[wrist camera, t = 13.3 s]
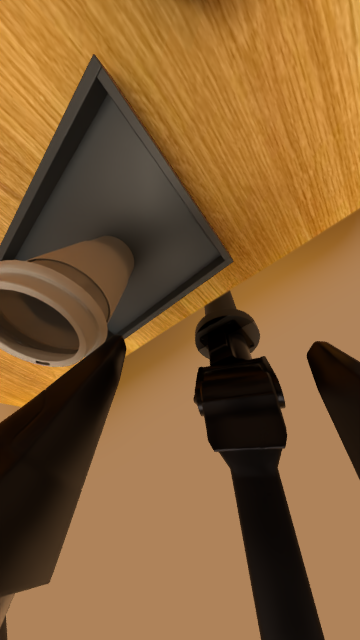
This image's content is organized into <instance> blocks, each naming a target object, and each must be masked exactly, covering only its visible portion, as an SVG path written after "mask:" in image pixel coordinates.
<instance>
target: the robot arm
mask: <svg viewBox="0 0 360 640" xmlns="http://www.w3.org/2000/svg"><path fill="white" fill-rule="evenodd" d="M233 322H234V323H233ZM232 323H233V324H232ZM202 339H204V340H202ZM200 342H201V343H202V344H203V345H204V346H205V347H206V348H207V349H208V352H209V358H210V366H208V367H199V369H198V373H197V379H196V387H195V395H194V402H195V403H196V404H197V405H198V409H199V412H200V414H201V416H204V418H205V423H206V429H207V436H208V441H209V443H210V445H211V446H212V448H213V450H214V451H215V452H219V453H220V454H221V456H222V457H223V459H224V460H225V462H226V463H227V465H228V466H229V467H230V469H231V474H232V480H233V486H234V491H235V497H236V502H237V507H238V513H239V519H240V524H241V530H242V536H243V541H244V546H245V552H246V557H247V563H248V568H249V574H250V580H251V586H252V591H253V597H254V602H255V608H256V614H257V619H258V625H259V630H260V635H261V640H325V639H324V635H323V632H322V628H321V624H320V621H319V618H318V614H317V610H316V606H315V603H314V599H313V596H312V592H311V588H310V584H309V581H308V577H307V574H306V570H305V566H304V563H303V559H302V555H301V552H300V548H299V545H298V541H297V537H296V533H295V530H294V526H293V523H292V519H291V515H290V512H289V508H288V504H287V501H286V497H285V494H284V490H283V486H282V483H281V479H280V475H279V471H278V464H279V460H280V456H281V451H282V449H283V448H285V446H286V440H287V432H286V426H285V423H284V419H283V416H282V412H281V408H285V401H284V396H283V393H282V389H281V386H280V384H279V381H278V379H277V377H276V375H275V373H274V371H273V369H272V368H271V366H270V364H269V362H268V361H267V359H266V357H265V356H263V357H261V358H256V359H252V357H251V354H250V351H249V349H250V348H252V347H254V346H255V345H254V342H253V341H252V340H251V338H250V337H249V336H248V335H247V334H246V332H245V331H244V330H243V329H242V327H241V326H240V325H239V324H238V322H237V321H236V320H230V321H229V322H227V323H225V324H223V325H221V326H219V327H217V328H216V329H214V330H212V331H210V332H208V333H207V334H205V335H203V336H202V337H200ZM251 344H252V345H251ZM125 354H126V345H125V341H124V338H123V336H122V335H113V336H112V337H110V338H109V339H108V340H107V341H105V342H104V343H103V344H102V345H100V346H99V347H98V348H97V349H95V350H94V351H93V352H92V353H90V354H89V355H88V356H86V357H85V358H84V359H83V360H81V361H80V362H79V363H78V364H76V365H75V366H74V367H73V368H71V369H70V370H69V371H68V372H66V373H65V374H64V375H62V376H61V377H60V378H59V379H57V380H56V381H55V382H54V383H52V384H51V385H50V386H49V387H47V388H46V390H43V391H42V392H41V393H40V394H38V395H37V396H36V397H35V398H33V399H32V400H31V401H29V402H28V403H27V404H25V405H24V406H23V407H22V408H20V409H19V410H17V411H16V412H15V413H13V414H12V415H11V416H9V417H8V418H6V419H5V420H4V421H2V422H1V423H0V640H7V628H6V613H7V611H8V608H9V606H10V603H11V601H12V599H13V597H14V594H15V593H17V592H21V591H24V590H28V589H31V588H34V587H38V586H41V585H44V584H48V583H49V582H50V579H51V577H52V575H53V572H54V569H55V566H56V563H57V560H58V557H59V554H60V551H61V549H62V545H63V543H64V540H65V537H66V534H67V531H68V528H69V526H70V523H71V520H72V517H73V514H74V511H75V508H76V505H77V502H78V499H79V497H80V493H81V491H82V490H81V489H82V487H83V485H84V482H85V479H86V476H87V473H88V470H89V467H90V464H91V461H92V459H93V456H94V453H95V450H96V447H97V444H98V441H99V438H100V435H101V433H102V429H103V427H104V424H105V421H106V418H107V415H108V412H109V409H110V407H111V403H112V400H113V398H114V395H115V392H116V389H117V386H118V383H119V380H120V376H121V372H122V367H123V362H124V358H125ZM307 359H308V363H309V366H310V368H311V371H312V374H313V377H314V380H315V383H316V386H317V388H318V391H319V393H320V395H321V397H322V400H323V402H324V404H325V406H326V408H327V410H328V413H329V415H330V417H331V419H332V421H333V423H334V425H335V428H336V430H337V432H338V434H339V436H340V438H341V440H342V443H343V445H344V447H345V449H346V451H347V453H348V456H349V457H350V460H351V462H352V464H353V466H354V468H355V471H356V473H357V475H358V477H359V479H360V362H359V361H358V360H356V359H354V358H352V357H350V356H349V355H347V354H346V353H344V352H342V351H341V350H339V349H337V348H336V347H334V346H332V345H331V344H329V343H327V342H323V341H321V342H320V341H317V342H314V343H313V345H312V346H311V348H310V350H309V351H308V353H307Z"/></svg>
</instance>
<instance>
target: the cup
mask: <svg viewBox="0 0 360 640" xmlns="http://www.w3.org/2000/svg"><path fill="white" fill-rule="evenodd" d="M133 268H134V257H133V254H132V252H131V250H130V249H129V247H128V246H127V245H126V244H125V243H124V242H123V241H121V240H120V239H118V238H116V237H113V236H102V237H99V238H96V239H94V240H91V241H83V242H80V243H77V244H74V245H71V246H68V247H65V248H62V249H59V250H56V251H53V252H50V253H47V254H44V255H41V256H38V257H35V258H32V259H29V260H26V261H20V260H5V261H0V348H1V349H2V350H4V351H6V352H7V353H9V354H11V355H13V356H15V357H18V358H20V359H22V360H25V361H28V362H31V363H34V364H39V365H43V366H51V367H63V366H70V365H72V364H75V363H77V362H79V361H80V360H82V359H83V357H86V356H88V355H89V354H90V353H92V352H93V351H94V350H95V349H97V348H98V347H99V346H100V345H102V344H103V343H104V342H105V340H106V338H107V332H108V328H107V324H108V322H109V321H110V318H111V316H112V314H113V312H114V310H115V308H116V306H117V304H118V302H119V300H120V298H121V296H122V294H123V292H124V290H125V288H126V286H127V283H128V279H129V277H130V275H131V273H132V271H133Z"/></svg>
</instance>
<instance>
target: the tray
mask: <svg viewBox="0 0 360 640" xmlns="http://www.w3.org/2000/svg"><path fill="white" fill-rule="evenodd" d="M102 236H113V237H116V238H118V239H120V240H121V241H123V242H124V243H125V244H126V245H127V246H128V247H129V249H130V250H131V252H132V254H133V257H134V268H133V271H132V273H131V275H130V277H129V279H128V283H127V286H126V288H125V290H124V292H123V294H122V296H121V298H120V300H119V302H118V304H117V306H116V308H115V310H114V312H113V314H112V316H111V318H110V321H109V322H108V324H107V328H108V332H107V338H106V340H105V341H107V340H108V339H109V338H110V337H112V336H113V335H122V336H123V338H124V339H125V338H127V337H128V336H130V335H131V334H132V333H134V332H135V331H137V330H138V329H139V328H141V327H142V326H144V325H145V324H146V323H148V322H149V321H151V320H152V319H153V318H155V317H156V316H158V315H159V314H161V313H162V312H163V311H165V310H166V309H168V308H169V307H170V306H172V305H173V304H175V303H176V302H177V301H179V300H180V299H182V298H183V297H184V296H186V295H187V294H189V293H190V292H191V291H193V290H194V289H196V288H197V287H199V286H200V285H201V284H203V283H204V282H206V281H207V280H208V279H210V278H211V277H213V276H214V275H215V274H217V273H218V272H220V271H221V270H222V269H224V268H225V267H227V266H228V265H229V264H231V263H232V262H233V259H232V257H231V256H230V254H229V252H228V251H227V249H226V248H225V246H224V245H223V243H222V242H221V240H220V239H219V237H218V236H217V234H216V233H215V231H214V230H213V228H212V227H211V225H210V224H209V222H208V221H207V219H206V218H205V216H204V215H203V213H202V212H201V210H200V209H199V207H198V206H197V204H196V203H195V201H194V200H193V198H192V197H191V195H190V194H189V192H188V191H187V189H186V188H185V186H184V185H183V183H182V182H181V180H180V179H179V177H178V176H177V174H176V173H175V171H174V170H173V168H172V167H171V165H170V164H169V162H168V161H167V159H166V158H165V156H164V155H163V153H162V152H161V150H160V149H159V147H158V146H157V144H156V143H155V141H154V140H153V138H152V137H151V135H150V134H149V132H148V131H147V129H146V128H145V126H144V125H143V123H142V122H141V120H140V119H139V117H138V116H137V114H136V113H135V111H134V110H133V108H132V107H131V105H130V104H129V102H128V101H127V99H126V98H125V96H124V95H123V93H122V92H121V90H120V89H119V87H118V86H117V84H116V83H115V81H114V80H113V78H112V77H111V76H110V74H109V73H108V72H107V70H106V69H105V68H104V66H103V65H102V64H101V62H100V61H99V60H98V58H97V57H96V56H95V54H93V56H92V58H91V60H90V62H89V64H88V66H87V68H86V70H85V72H84V74H83V76H82V79H81V81H80V83H79V85H78V87H77V89H76V91H75V93H74V95H73V97H72V99H71V101H70V103H69V105H68V107H67V109H66V111H65V113H64V115H63V118H62V120H61V122H60V124H59V126H58V128H57V130H56V132H55V134H54V136H53V138H52V140H51V142H50V144H49V146H48V148H47V150H46V152H45V154H44V157H43V159H42V161H41V163H40V165H39V167H38V169H37V171H36V173H35V175H34V177H33V179H32V181H31V183H30V185H29V187H28V189H27V191H26V194H25V196H24V198H23V200H22V202H21V204H20V206H19V208H18V210H17V212H16V214H15V216H14V218H13V220H12V222H11V224H10V226H9V228H8V230H7V233H6V235H5V237H4V239H3V241H2V243H1V245H0V261H5V260H20V261H26V260H29V259H32V258H35V257H38V256H41V255H44V254H47V253H50V252H53V251H56V250H59V249H62V248H65V247H68V246H71V245H74V244H77V243H80V242H83V241H91V240H94V239H96V238H99V237H102Z"/></svg>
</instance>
